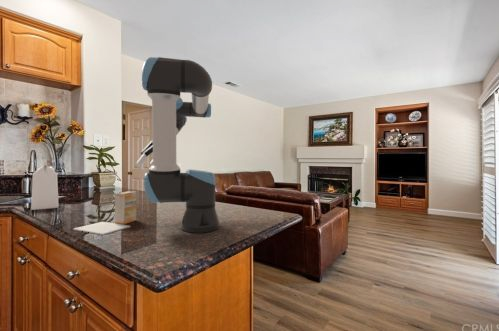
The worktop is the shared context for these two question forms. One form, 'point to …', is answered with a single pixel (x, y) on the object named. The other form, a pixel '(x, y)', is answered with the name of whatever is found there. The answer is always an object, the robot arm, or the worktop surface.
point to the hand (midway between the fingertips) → (144, 165)
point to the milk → (44, 188)
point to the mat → (102, 228)
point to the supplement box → (125, 207)
